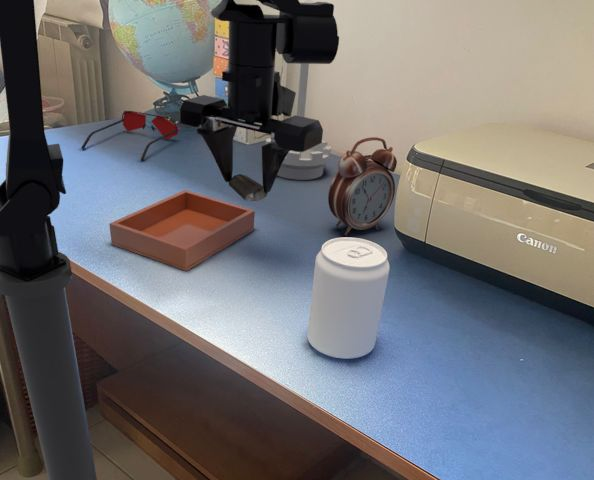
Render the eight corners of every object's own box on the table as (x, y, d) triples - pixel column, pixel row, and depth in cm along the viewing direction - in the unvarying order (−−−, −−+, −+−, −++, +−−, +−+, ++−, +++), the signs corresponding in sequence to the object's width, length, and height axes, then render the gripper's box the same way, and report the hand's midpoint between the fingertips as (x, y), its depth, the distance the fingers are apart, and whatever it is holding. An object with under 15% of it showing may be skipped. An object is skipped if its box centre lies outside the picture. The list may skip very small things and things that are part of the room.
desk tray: (186, 271, 81) (185, 249, 79) (111, 244, 86) (109, 223, 84) (254, 230, 94) (254, 210, 92) (185, 208, 99) (185, 189, 97)
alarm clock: (339, 240, 94) (352, 145, 85) (322, 228, 97) (332, 135, 88) (390, 229, 99) (408, 138, 90) (372, 218, 102) (387, 130, 93)
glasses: (181, 141, 129) (180, 117, 126) (142, 161, 116) (141, 136, 113) (124, 130, 132) (122, 107, 129) (81, 149, 119) (77, 124, 116)
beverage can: (292, 339, 70) (301, 247, 63) (338, 317, 75) (350, 229, 68) (343, 371, 65) (358, 276, 58) (388, 346, 70) (407, 255, 63)
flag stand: (307, 186, 112) (324, 6, 95) (251, 170, 117) (258, -4, 100) (339, 170, 122) (360, 3, 104) (286, 155, 127) (297, -6, 109)
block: (246, 184, 84) (246, 172, 83) (271, 198, 81) (271, 185, 80) (225, 188, 82) (225, 176, 81) (249, 203, 79) (249, 190, 78)
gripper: (347, 67, 75) (333, 186, 84) (224, 45, 81) (223, 158, 90) (307, 79, 66) (296, 210, 75) (174, 53, 73) (179, 177, 82)
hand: (247, 186), depth 81 cm, fingers closed on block, 6 cm apart
